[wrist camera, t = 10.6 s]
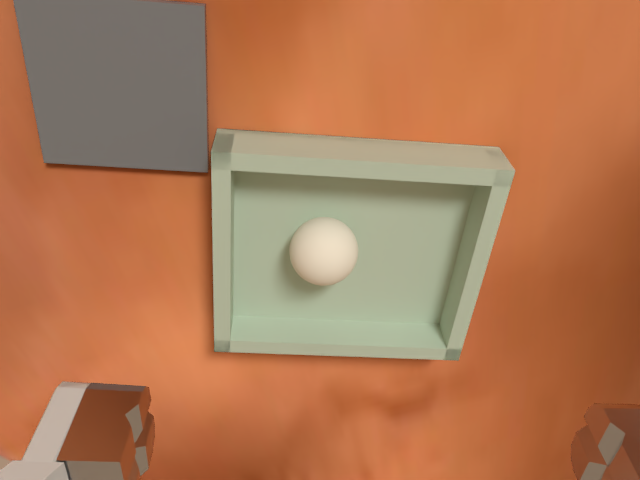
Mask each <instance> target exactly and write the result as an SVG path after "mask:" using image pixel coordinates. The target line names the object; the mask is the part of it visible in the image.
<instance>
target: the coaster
mask: <svg viewBox="0 0 640 480" xmlns="http://www.w3.org/2000/svg"><path fill="white" fill-rule="evenodd" d="M13 1H14V6H15V12H16V17H17V22H18V27H19V33H20V38H21V43H22V48H23V54H24V59H25V64H26V70H27V75H28V80H29V85H30V91H31V96H32V101H33V107H34V112H35V117H36V122H37V128H38V133H39V138H40V144H41V149H42V154H43V159H44V163H56V164H73V165H89V166H106V167H123V168H140V169H156V170H173V171H190V172H206V173H208V170H209V144H208V92H207V40H206V4H203V3H191V2H178V1H166V0H13Z"/></svg>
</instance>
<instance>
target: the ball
mask: <svg viewBox="0 0 640 480" xmlns="http://www.w3.org/2000/svg"><path fill="white" fill-rule="evenodd" d="M289 255H290V260H291V263H292V266H293V268H294V269H295V271H296V272H297V274H298V275H299V276H300V277H302V278H303V279H304V280H306V281H307V282H309V283H312V284H315V285H320V286H327V285H333V284H336V283H338V282H340V281H342V280H343V279H345V278H346V277H347V276H348V275H349V274H350V273H351V272H352V270H353V269H354V267H355V265H356V262H357V258H358V244H357V240H356V238H355V236H354V234H353V232H352V231H351V229H350V228H349V227H348V226H347V225H346V224H344V223H343V222H341V221H339V220H337V219H334V218H331V217H317V218H313V219H310V220H308V221H306V222H305V223H303V224H302V225H301V226H300V227H299V228H298V229H297V230H296V232H295V233H294V235H293V237H292V239H291V242H290V248H289Z"/></svg>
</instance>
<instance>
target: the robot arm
mask: <svg viewBox="0 0 640 480" xmlns="http://www.w3.org/2000/svg"><path fill="white" fill-rule="evenodd" d="M150 402H151V396H150V390H149V387H146V386H133V385H117V384H102V383H82V382H64V381H62V383H61V384H60V385H59V386H58V387H57V388H56V389H55V391H54V393H53V395H52V397H51V399H50V401H49V403H48V405H47V408H46V410H45V412H44V414H43V416H42V418H41V420H40V422H39V424H38V426H37V428H36V431H35V433H34V435H33V437H32V439H31V441H30V443H29V445H28V447H27V449H26V451H25V454H24V456H23V458H22V460H12V461H11V462H10V463H8V464H7V465H6V466H4V467H3V468H2V469H1V470H0V480H141V478H140V476H141V475H142V474H143V473H144V472H145V471H147V470H148V469H149V465H150V461H151V457H152V453H153V445H154V438H155V424H154V416H153V415H152V414H150V413H149V412H148V409H149V406H150ZM584 418H585V420H586V422H587V424H588V425H587V426H585V427H583V428H582V429H580V430H579V431H577V432H576V434H575V437H574V439H573V441H572V444H571V461H572V466H573V471H574V473H575V476H576V478H577V480H640V405H638V404H601V403H594V404H593V405H591V406H590V407H588V409H587V411H586V413H585V415H584Z"/></svg>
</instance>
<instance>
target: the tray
mask: <svg viewBox="0 0 640 480" xmlns="http://www.w3.org/2000/svg"><path fill="white" fill-rule="evenodd" d="M514 174H515V169H514V168H513V167H512V165H511V164H510V162H509V161H508V159H507V158H506V156H505V155H504V154H503V152H502V151H501V149H500V148H499V147H492V146H477V145H461V144H446V143H431V142H416V141H401V140H385V139H370V138H355V137H340V136H324V135H309V134H294V133H279V132H264V131H248V130H233V129H218V128H217V132H216V135H215V139H214V142H213V146H212V150H211V182H212V242H213V301H214V352H238V353H265V354H293V355H321V356H349V357H377V358H405V359H433V360H459V357H460V354H461V350H462V347H463V344H464V340H465V337H466V334H467V330H468V327H469V324H470V320H471V317H472V314H473V310H474V307H475V304H476V300H477V297H478V294H479V290H480V287H481V284H482V280H483V277H484V274H485V270H486V267H487V264H488V260H489V257H490V254H491V250H492V247H493V244H494V240H495V237H496V234H497V230H498V227H499V224H500V220H501V217H502V214H503V210H504V207H505V204H506V200H507V197H508V194H509V190H510V187H511V184H512V180H513V177H514ZM317 217H331V218H334V219H337V220H339V221H341V222H343V223H344V224H346V225H347V226H348V227H349V228H350V229H351V231H352V232H353V234H354V236H355V238H356V240H357V244H358V258H357V262H356V265H355V267H354V269H353V270H352V272H351V273H350V274H349V275H348V276H347V277H346V278H345V279H343V280H342V281H340V282H338V283H336V284H333V285H327V286H320V285H315V284H312V283H309V282H307V281H306V280H304V279H303V278H302V277H300V276H299V275H298V274H297V272H296V271H295V269H294V268H293V266H292V263H291V260H290V255H289V248H290V242H291V239H292V237H293V235H294V233H295V232H296V230H297V229H298V228H299V227H300V226H301V225H302V224H303V223H305V222H306V221H308V220H310V219H313V218H317Z"/></svg>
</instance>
